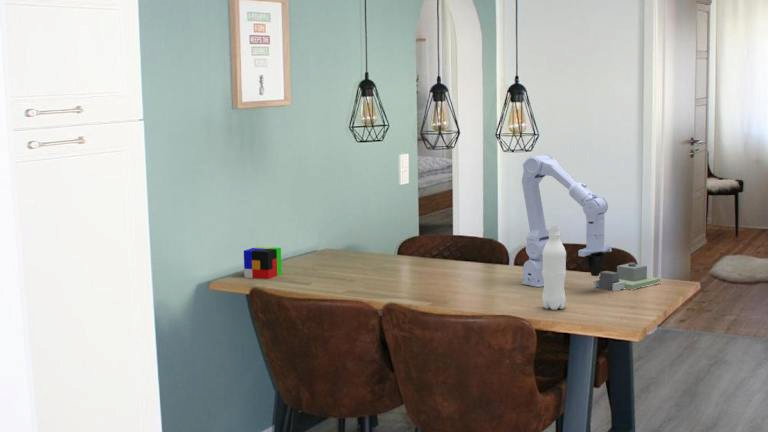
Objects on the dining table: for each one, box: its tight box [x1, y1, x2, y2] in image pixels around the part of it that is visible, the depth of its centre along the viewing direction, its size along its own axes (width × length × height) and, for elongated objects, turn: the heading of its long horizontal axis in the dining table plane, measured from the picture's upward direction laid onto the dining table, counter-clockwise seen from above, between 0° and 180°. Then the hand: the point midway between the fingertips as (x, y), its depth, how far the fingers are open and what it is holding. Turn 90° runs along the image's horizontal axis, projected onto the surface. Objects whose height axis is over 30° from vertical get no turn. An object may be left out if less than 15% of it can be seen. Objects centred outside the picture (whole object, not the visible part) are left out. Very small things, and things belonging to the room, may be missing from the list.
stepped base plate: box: [593, 261, 661, 292], centre depth 323 cm, size 21×13×7 cm, turn 129°
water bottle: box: [541, 225, 567, 311], centre depth 290 cm, size 7×7×25 cm
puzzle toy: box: [243, 246, 283, 280], centre depth 352 cm, size 10×10×10 cm
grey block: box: [598, 270, 619, 291], centre depth 318 cm, size 4×5×6 cm
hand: (595, 275), depth 313 cm, fingers closed
